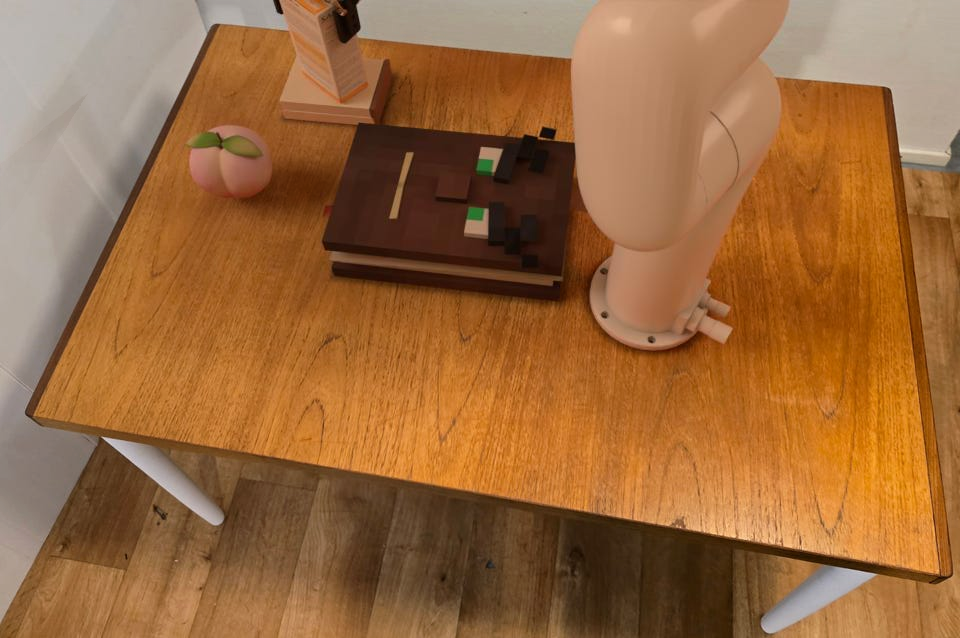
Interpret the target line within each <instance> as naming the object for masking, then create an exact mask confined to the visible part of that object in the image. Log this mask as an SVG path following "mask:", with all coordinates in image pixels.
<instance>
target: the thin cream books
mask: <svg viewBox="0 0 960 638" xmlns="http://www.w3.org/2000/svg"><path fill="white" fill-rule="evenodd" d="M362 59H363V63H364V68H365V72H366V77H367V81H368V86H367V87H365V88H364V89H363V90H361V91H360V92H358V93H357V94H355V95H354V96H353V97H351V98H350V99H348V100H347V101H345V102H344V103H342V104H341V103H340V102H338V101H337V100H336V99H335V98H333V97H332V96H331V95H329V94H328V93H327V92H326V91H324V90H323V89H322V88H320V87H319V86H318V85H316V84H315V83H314V82H313V81H311V80H310V79H309V78H308V77H306V76H305V75H304V74H303V73H302V69H301V66H300V63H299V60H298V57H297V55H296V56H295V59H294V61H293V64H292V66H291V69H290V71H289V75H288V76H287V80H286V82H285V85H284V87H283V91H282V93H281V95H280V98H279V100H278V101H279V104H280V107H281V109H282V111H281V112H282V113H283V117H284V118H285V120H296V121H305V122H306V121H307V122H317V123H318V122H319V123H331V124H339V125H341V124H342V125H351V126H352V125H354V126H357V125H358V122H359V123H369V124H380V121H381V118H382V114H383V112H384V108H385V104H386V101H387V98H388V94H389V90H390V88H391V84H392V80H393V72H392V67H391V60H390V59H389V58H385V59H383V58H371V57H362Z"/></svg>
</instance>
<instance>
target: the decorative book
mask: <svg viewBox="0 0 960 638" xmlns="http://www.w3.org/2000/svg"><path fill="white" fill-rule="evenodd" d="M557 129H558V128H554V127H549V126H542V127H541V129H540V132H539V135H538V136H535V135H530V134H526V133H524V134H523V135H522V137H519V136H507V135H496V134H488V133H474V132H466V131H465V132H464V131H454V130H443V129H433V128H423V127H411V126H401V125H400V126H399V125H392V124H391V125H390V124H380V123H379V124H369V123H359V122H358V125H356V129H355V132H354V136H353V138H352V142H351V145H350V148H349V151H348V154H347V157H346V161H345V165H344V168H343V172H342V174H341V177H340V181H339V184H338V186H337V191H336V194H335V196H334V200H333V203H332V204H325V205H324V207H323V208H324V209H323V212H322V217H323V218H327V219H328V220H327V221H326V225H325V229H324V232H323V235H322V239H321V243H322V246H323V249H324V251H329V256H328V261H330V262H332V264H331V271H332V273H333V275H334V277H341V278H350V279H357V280H358V279H359V280H367V281H376V282H385V283H393V284H401V285H411V286H419V287H428V288H438V289H446V290H452V291H453V290H455V291H463V292H473V293H479V294H480V293H481V294H489V295H496V296H497V295H499V296H507V297H515V298H523V299H533V300H540V301H548V302H549V301H551V302H557V303H558V302H559V301H560V294H561V285H562V282H564V273H565V272H564V271H565V261H566V250H567V237H568V227H569V217H570V211H576V212H581V213H586V214H589V213H588V211H587V209H586V207H585V204H584V202H583V199H582V196H581V192H580V188H579V186H574V185H573V183H574V175H575V167H576V152H575V142H572V141H562V140H555V136H556V133H557ZM539 138H541V139H539ZM542 138H543V139H542Z"/></svg>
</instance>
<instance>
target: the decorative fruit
mask: <svg viewBox="0 0 960 638" xmlns="http://www.w3.org/2000/svg"><path fill="white" fill-rule="evenodd" d="M185 146H186V147H188V148H191V150H190V154H189V172H190V176H191V177H192V180H193V181H194V183H195V184H196V185H197V186H198V187H199V188H200V189H202V190H204V191H206V192H208V193H210V194H212V195H215V196H217V197H221V198H226V199H232V198H233V199H234V198H238V199H248V198H251V197H255V196H256V195H258V194H259V193H261V192H262V191H263V190H264V189H266V188H267V186H268V185H269V183H270V181H271V179H272V175H273V161H272V156H271V152H270V149H269V146H268V144H267V142H266V141H265V139H264V138H263V137H262V136H261V135H260V134H259V133H257V132H256V131H254V130H253V129H251V128H248V127H246V126H241V125H234V124H225V125H218V126H215V127H213V128H211V129H209V130H207V131H202V132H198V133H196V134H195V135H193V136H192V137H190V138H189V139H188V140H187V141H186V142H185Z"/></svg>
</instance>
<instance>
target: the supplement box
mask: <svg viewBox="0 0 960 638" xmlns="http://www.w3.org/2000/svg"><path fill="white" fill-rule="evenodd" d="M279 1H280V4H281V7H282V10H283V13H284V14H283V17H284V19H285V22H286V25H287V29H288V32H289V36H290V38H291V42H292V44H293V48H294V51H295V53H296V56H297V57H298V60H299V63H300V66H301V69H302V73H303V74H304V75H305V76H306V77H308V78H309V79H310V80H311V81H313V82H314V83H315V84H316V85H318V86H319V87H320V88H322V89H323V90H324V91H326V92H327V93H328V94H329V95H331V96H332V97H333V98H335V99H336V100H337V101H338V102H340V103H341V104H342V103H344V102H345V101H347V100H348V99H350V98H351V97H353V96H354V95H355V94H357V93H358V92H360V91H361V90H363V89H364V88H365V87H367V86H368V81H367V77H366V72H365V68H364V63H363V59H362V58H363V55H362V51H361V47H360V41H359V37H358V33H357V34H356V35H355V36H353V37H352V38H351V39H350V40H349V41H348V42H347V43H346V44H344V43H341V42H340V40H339V36H338V32H337V28H336V24H335V20H334V13H335V12H336V10H335V8H334V7H333V5H332V4H331V3H330V1H329V0H279ZM341 1H343V0H341Z"/></svg>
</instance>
